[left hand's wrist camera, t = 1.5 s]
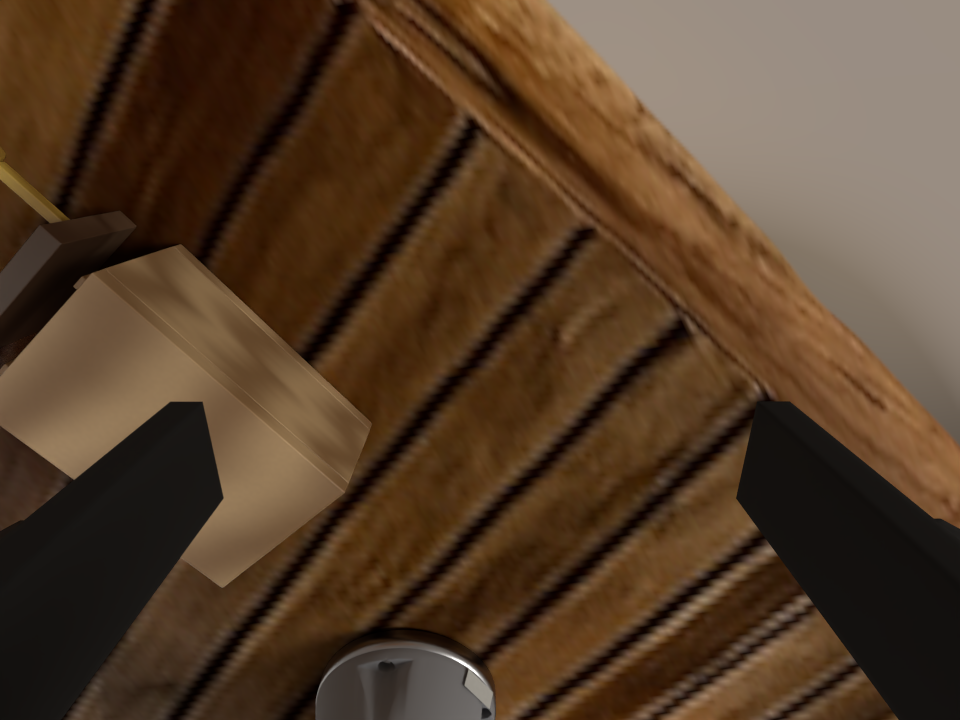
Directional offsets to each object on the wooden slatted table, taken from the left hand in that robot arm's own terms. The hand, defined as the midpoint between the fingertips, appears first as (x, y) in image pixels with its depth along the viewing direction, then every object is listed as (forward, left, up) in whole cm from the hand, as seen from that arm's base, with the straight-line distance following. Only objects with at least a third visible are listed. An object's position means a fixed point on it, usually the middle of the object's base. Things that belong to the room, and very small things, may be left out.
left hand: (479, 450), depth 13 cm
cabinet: (-16, +9, -21) cm, 28 cm away
